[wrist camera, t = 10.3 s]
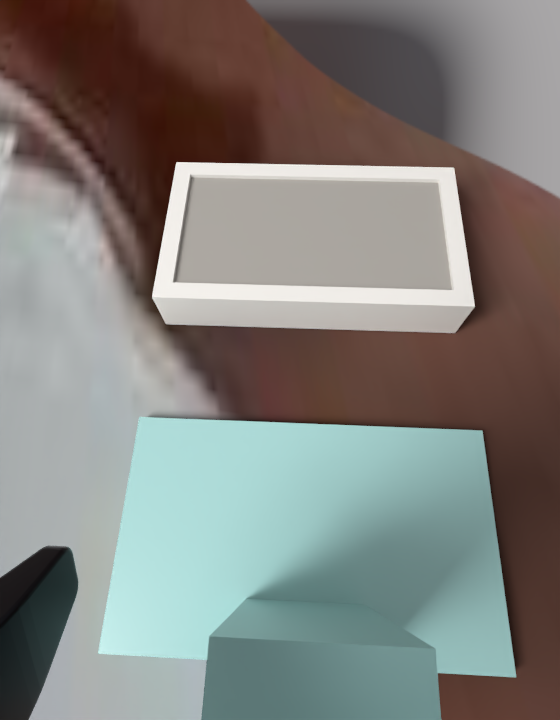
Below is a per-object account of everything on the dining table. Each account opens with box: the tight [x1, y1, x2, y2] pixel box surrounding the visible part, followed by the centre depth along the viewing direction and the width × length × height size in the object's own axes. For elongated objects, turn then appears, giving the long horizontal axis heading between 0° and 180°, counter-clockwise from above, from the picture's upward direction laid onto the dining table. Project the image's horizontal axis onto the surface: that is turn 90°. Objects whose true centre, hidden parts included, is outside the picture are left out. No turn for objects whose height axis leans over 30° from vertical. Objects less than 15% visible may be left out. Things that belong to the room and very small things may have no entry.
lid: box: [98, 417, 516, 720], centre depth 14 cm, size 9×15×10 cm, turn 87°
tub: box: [152, 162, 475, 333], centre depth 22 cm, size 8×14×2 cm, turn 88°
